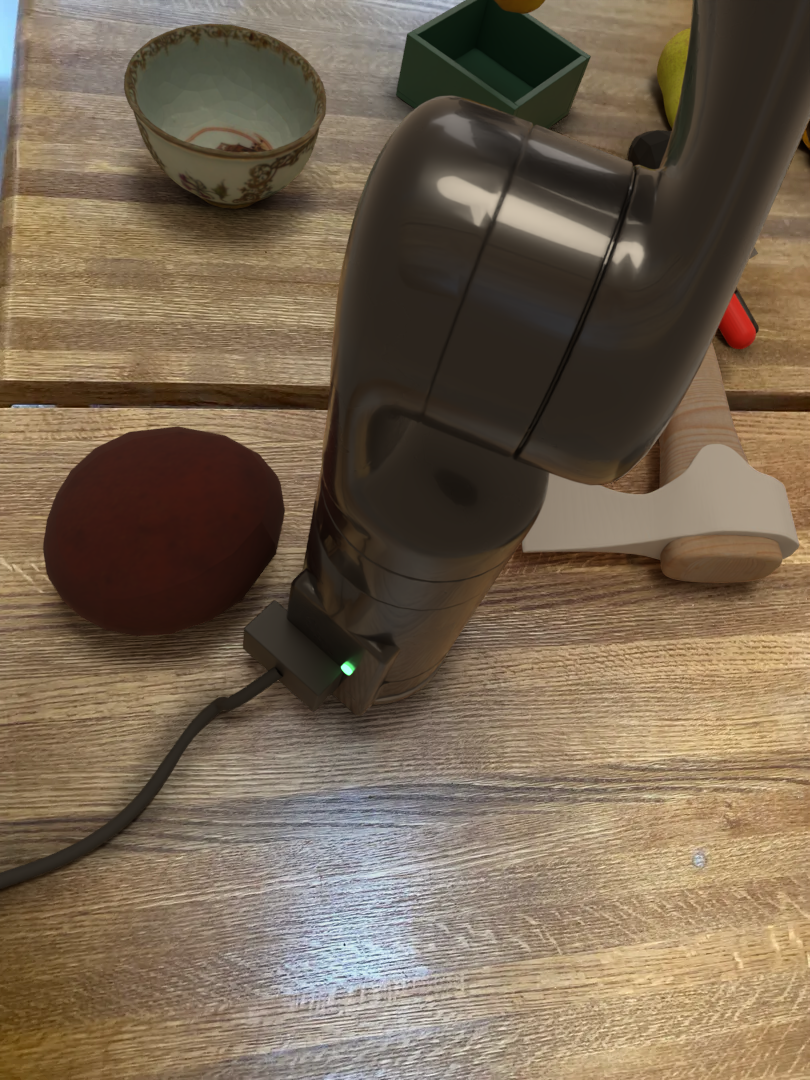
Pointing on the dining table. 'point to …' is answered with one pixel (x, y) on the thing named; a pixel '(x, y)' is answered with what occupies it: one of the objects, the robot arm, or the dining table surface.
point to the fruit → (673, 72)
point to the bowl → (225, 110)
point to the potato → (162, 530)
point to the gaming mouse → (649, 148)
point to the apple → (519, 5)
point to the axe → (682, 502)
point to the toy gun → (739, 321)
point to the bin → (492, 62)
